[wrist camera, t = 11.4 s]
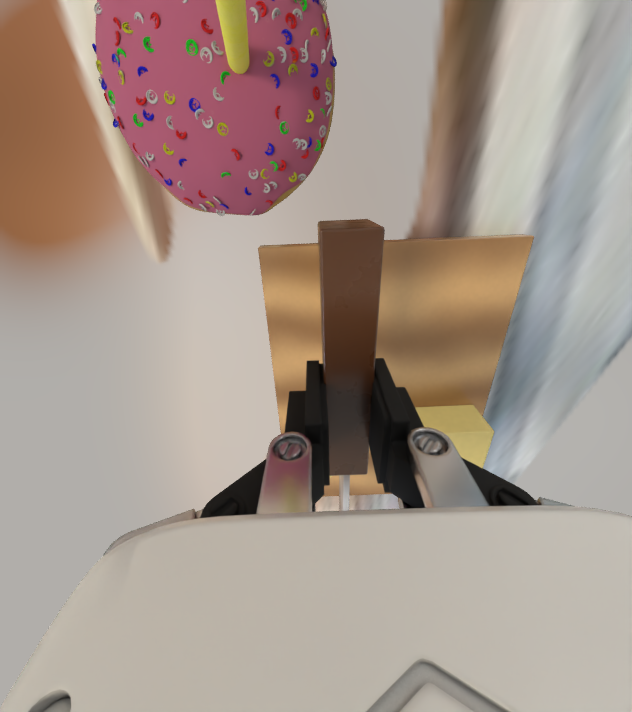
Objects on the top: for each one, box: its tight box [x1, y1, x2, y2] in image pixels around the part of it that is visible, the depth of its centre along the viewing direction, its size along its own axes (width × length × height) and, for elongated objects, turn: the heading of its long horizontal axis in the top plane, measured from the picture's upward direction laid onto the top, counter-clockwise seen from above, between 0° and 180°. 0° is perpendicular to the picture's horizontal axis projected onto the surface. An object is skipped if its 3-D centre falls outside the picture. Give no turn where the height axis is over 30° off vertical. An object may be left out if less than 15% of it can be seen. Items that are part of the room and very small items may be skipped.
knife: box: [318, 219, 385, 511], centre depth 14 cm, size 20×2×3 cm, turn 2°
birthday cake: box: [92, 0, 337, 216], centre depth 10 cm, size 9×8×12 cm
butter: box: [415, 405, 494, 468], centre depth 22 cm, size 4×6×3 cm, turn 92°
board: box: [258, 234, 534, 496], centre depth 23 cm, size 22×16×1 cm
